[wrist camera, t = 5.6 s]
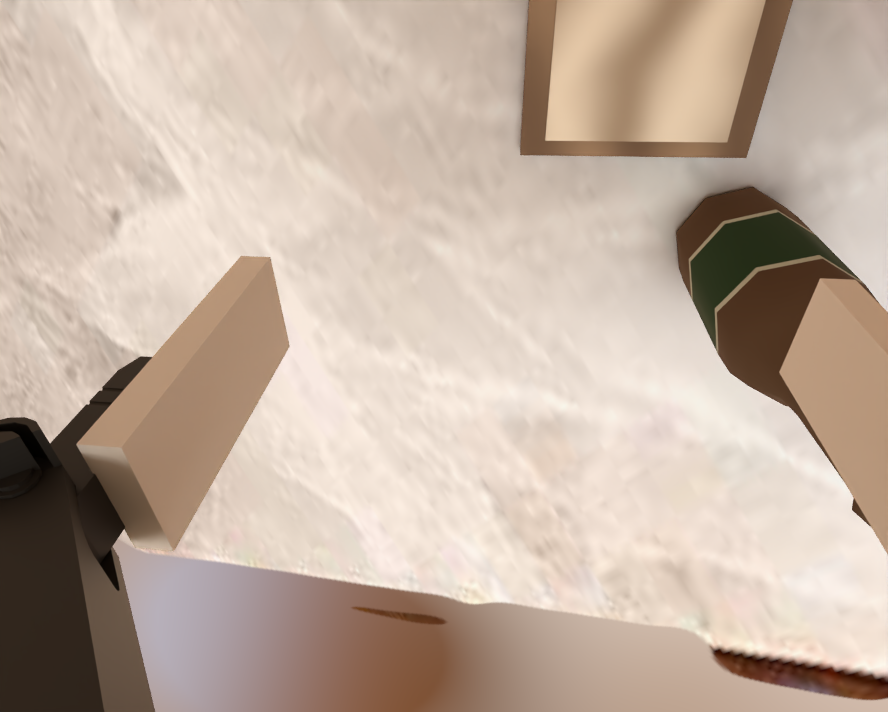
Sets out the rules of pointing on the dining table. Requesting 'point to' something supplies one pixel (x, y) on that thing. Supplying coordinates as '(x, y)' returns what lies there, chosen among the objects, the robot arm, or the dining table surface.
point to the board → (647, 76)
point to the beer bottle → (755, 285)
